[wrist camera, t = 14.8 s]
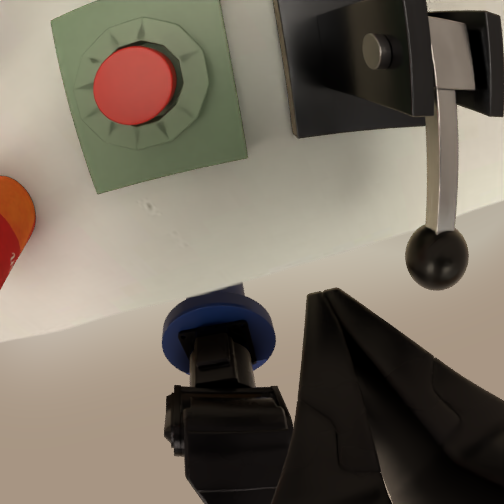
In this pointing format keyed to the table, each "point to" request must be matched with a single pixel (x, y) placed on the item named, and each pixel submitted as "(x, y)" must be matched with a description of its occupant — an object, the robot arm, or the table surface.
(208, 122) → the control block
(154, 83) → the button
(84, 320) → the table surface
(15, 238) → the paper cup
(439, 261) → the lever
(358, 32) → the bracket
